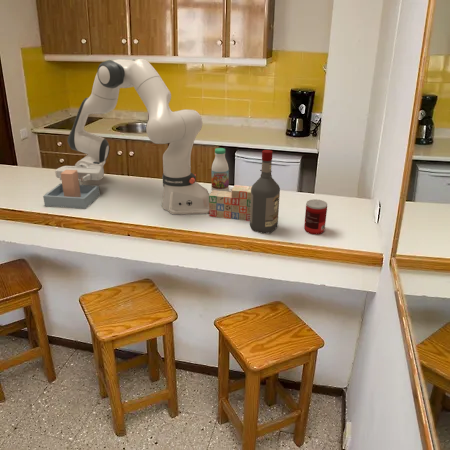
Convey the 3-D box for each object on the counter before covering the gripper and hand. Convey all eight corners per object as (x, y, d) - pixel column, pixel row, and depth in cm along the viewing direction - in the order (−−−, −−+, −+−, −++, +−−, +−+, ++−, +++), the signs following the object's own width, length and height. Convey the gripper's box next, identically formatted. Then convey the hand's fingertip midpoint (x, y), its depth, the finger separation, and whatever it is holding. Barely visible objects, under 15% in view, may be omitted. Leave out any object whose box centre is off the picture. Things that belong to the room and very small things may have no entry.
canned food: (321, 225, 175) (324, 199, 170) (326, 234, 168) (329, 207, 163) (302, 225, 175) (304, 199, 170) (306, 235, 167) (308, 207, 163)
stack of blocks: (208, 216, 182) (208, 188, 176) (212, 210, 187) (212, 182, 182) (261, 222, 177) (262, 193, 172) (264, 216, 183) (265, 187, 177)
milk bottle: (209, 189, 208) (209, 147, 199) (225, 188, 210) (226, 146, 201) (214, 196, 201) (214, 152, 193) (230, 194, 203) (231, 150, 195)
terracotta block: (80, 196, 197) (77, 170, 192) (75, 200, 193) (72, 174, 187) (70, 195, 198) (66, 169, 192) (64, 200, 193) (60, 173, 188)
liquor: (247, 229, 171) (249, 152, 158) (258, 220, 178) (261, 146, 165) (269, 235, 167) (273, 156, 154) (279, 226, 174) (284, 150, 161)
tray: (99, 195, 201) (98, 185, 199) (85, 208, 188) (84, 198, 186) (61, 192, 203) (60, 183, 201) (44, 206, 190) (43, 196, 188)
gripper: (62, 160, 205) (47, 170, 193) (105, 163, 203) (93, 173, 191) (64, 174, 208) (49, 184, 196) (107, 176, 206) (95, 187, 193)
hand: (71, 179), depth 193 cm, fingers open, 8 cm apart
